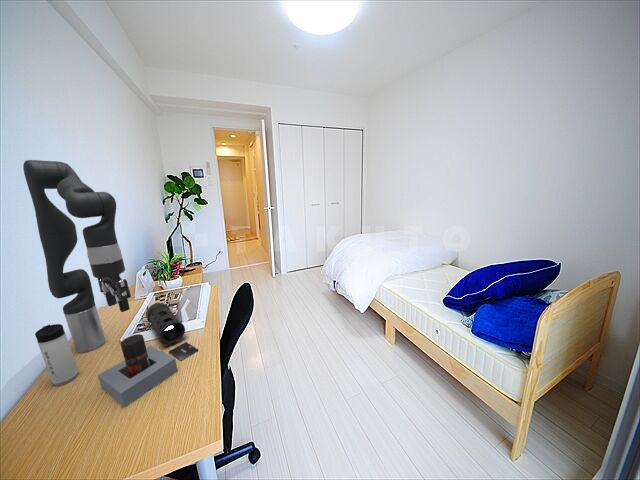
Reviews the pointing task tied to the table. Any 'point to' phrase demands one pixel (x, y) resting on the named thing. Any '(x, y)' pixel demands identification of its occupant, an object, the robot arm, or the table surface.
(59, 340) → the travel mug
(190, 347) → the solid state drive
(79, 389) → the table surface
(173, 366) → the block
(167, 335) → the muzzle brake
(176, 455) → the table surface
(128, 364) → the deodorant
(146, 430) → the table surface
